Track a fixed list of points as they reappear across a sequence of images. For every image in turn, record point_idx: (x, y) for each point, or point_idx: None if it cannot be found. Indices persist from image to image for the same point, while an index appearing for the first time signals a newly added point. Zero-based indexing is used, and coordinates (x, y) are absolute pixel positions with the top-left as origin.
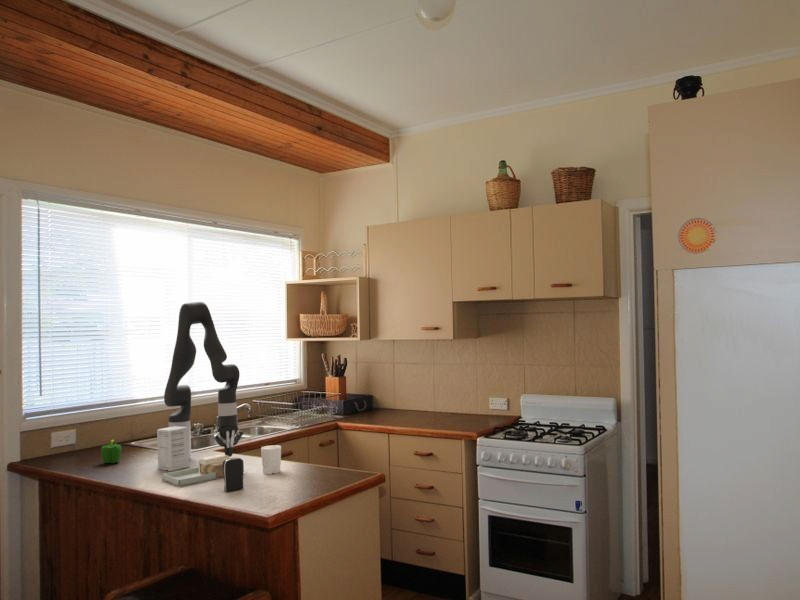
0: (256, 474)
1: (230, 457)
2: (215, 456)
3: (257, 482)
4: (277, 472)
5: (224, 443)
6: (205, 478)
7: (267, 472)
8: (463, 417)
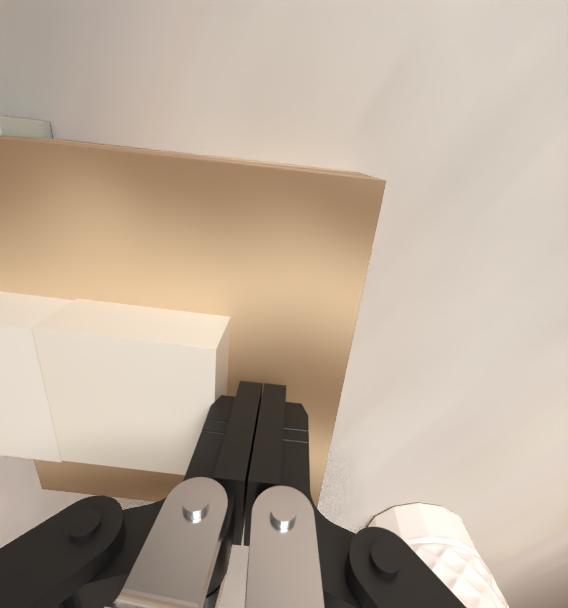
0: (329, 509)
1: (331, 330)
2: (69, 396)
3: (226, 597)
4: None
5: (149, 575)
6: None
7: None
8: None
